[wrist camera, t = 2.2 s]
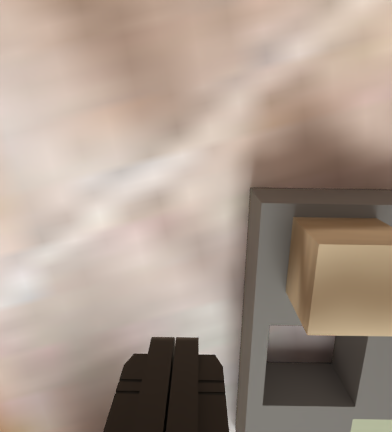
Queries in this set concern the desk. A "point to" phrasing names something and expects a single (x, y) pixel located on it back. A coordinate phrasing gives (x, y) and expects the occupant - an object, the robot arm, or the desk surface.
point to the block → (341, 276)
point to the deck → (286, 316)
